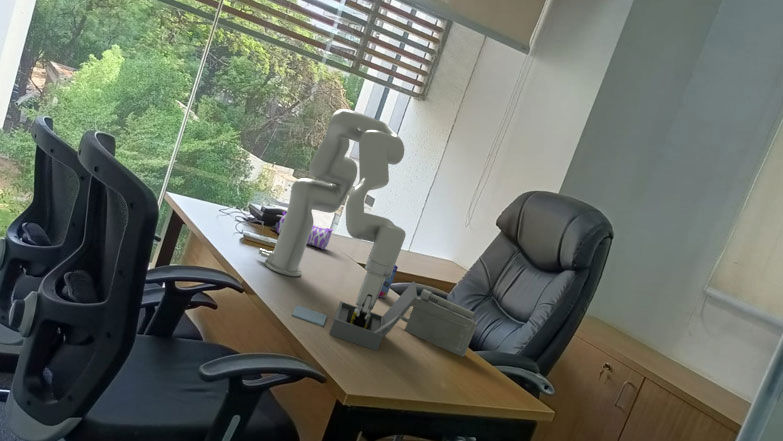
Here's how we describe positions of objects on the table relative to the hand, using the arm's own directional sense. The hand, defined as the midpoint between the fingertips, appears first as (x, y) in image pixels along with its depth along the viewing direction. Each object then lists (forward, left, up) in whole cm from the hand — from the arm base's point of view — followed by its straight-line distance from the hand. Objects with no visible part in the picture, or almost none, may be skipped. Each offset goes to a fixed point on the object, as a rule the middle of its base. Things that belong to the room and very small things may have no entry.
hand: (357, 327), depth 187 cm
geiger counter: (+22, +17, -2) cm, 28 cm away
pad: (-14, 0, -2) cm, 14 cm away
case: (+3, 0, -2) cm, 3 cm away
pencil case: (-29, +86, -2) cm, 91 cm away
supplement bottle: (0, 0, -2) cm, 2 cm away
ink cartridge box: (+4, +49, -2) cm, 49 cm away
